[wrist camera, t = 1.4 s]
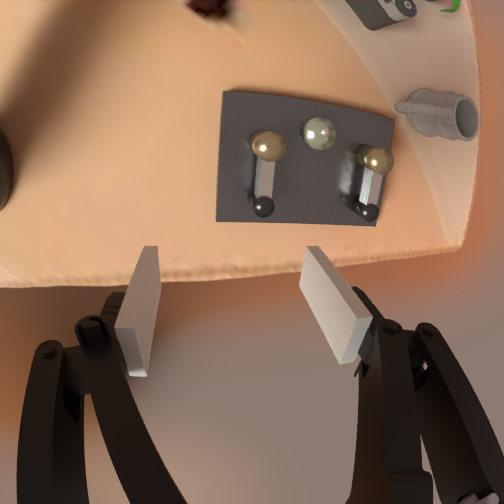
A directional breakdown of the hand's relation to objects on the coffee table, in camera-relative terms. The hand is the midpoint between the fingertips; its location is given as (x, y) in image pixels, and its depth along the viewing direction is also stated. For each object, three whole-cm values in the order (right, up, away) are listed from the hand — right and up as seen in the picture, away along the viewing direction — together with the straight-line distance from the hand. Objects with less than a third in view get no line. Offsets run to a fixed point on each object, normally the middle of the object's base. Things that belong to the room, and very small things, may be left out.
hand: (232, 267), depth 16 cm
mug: (+25, +22, +17) cm, 38 cm away
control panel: (+8, +13, +19) cm, 24 cm away
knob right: (+16, +11, +19) cm, 27 cm away
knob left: (+2, +11, +17) cm, 20 cm away
